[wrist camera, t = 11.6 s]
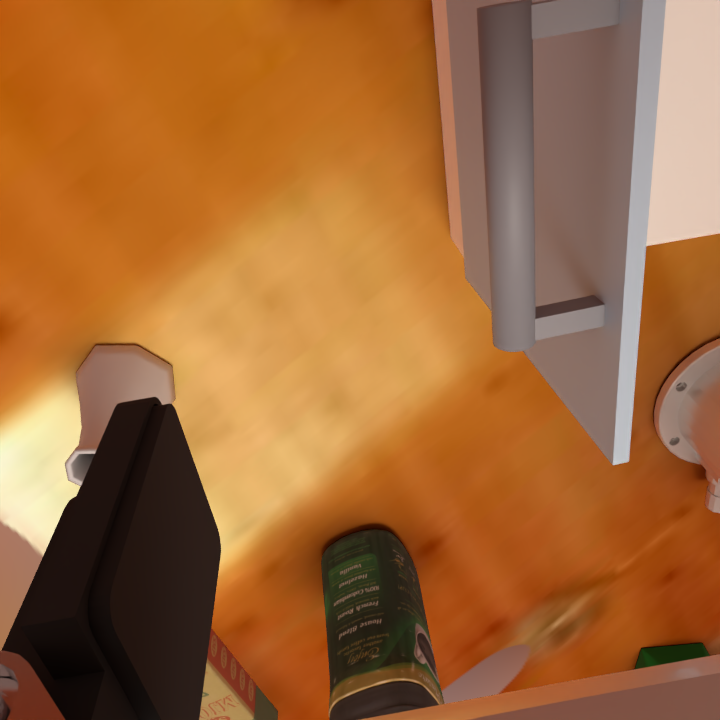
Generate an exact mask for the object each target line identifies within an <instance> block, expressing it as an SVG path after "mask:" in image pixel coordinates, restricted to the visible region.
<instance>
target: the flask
mask: <svg viewBox="0 0 720 720" xmlns="http://www.w3.org/2000/svg"><path fill="white" fill-rule="evenodd" d="M76 380H77V387H78V394H79V401H80V412H81V423H82V429H81V435H80V441H79V446H78V447H77V448H76V449H75V450H74V451H73V453H72V454H71V455H70V457H69V458H68V459H67V461H66V462H65V467H66V472H67V476H68V480H69V481H71V482H73V483H75V484H77V485H79V486H81V485H82V482H83V480H84V478H85V476H86V473H87V471H88V469H89V466H90V464H91V462H92V459H93V457H94V455H95V452H96V450H97V448H98V445H99V443H100V441H101V438H102V436H103V434H104V431H105V429H106V427H107V425H108V422H109V420H110V418H111V415H112V413H113V411H114V408H115V406H116V405H117V404H118V403H121V402H127V401H133V400H138V399H144V398H150V397H157V398H158V399H159V400H160V402H161V403H162V405H164V404H172V403H173V401H174V400H175V389H174V379H173V370H172V366H171V365H169V364H168V363H166V362H164V361H163V360H161V359H159V358H158V357H156V356H154V355H152V354H151V353H149V352H147V351H146V350H144V349H142V348H141V347H139V346H137V345H96V346H95V347H94V349H93V350H92V351H91V353H90V354H89V355H88V357H87V358H86V360H85V361H84V362H83V364H82V365H81V367H80V368H79V369H78V371H77V372H76Z"/></svg>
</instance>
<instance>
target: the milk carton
mask: <svg viewBox="0 0 720 720" xmlns="http://www.w3.org/2000/svg"><path fill="white" fill-rule="evenodd" d="M707 656H710V655H709V653H708V652H707V650H706V648H705V647H704V645H703V643H696V644H685V645H674V646H663V647H652V648H641V651H640V654H639V657H638V661H637V664H636V667H635V669H640V668H646V667H651V666H657V665H662V664H668V663H674V662H679V661H685V660H690V659H696V658H702V657H707Z"/></svg>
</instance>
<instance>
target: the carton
mask: <svg viewBox="0 0 720 720" xmlns="http://www.w3.org/2000/svg"><path fill="white" fill-rule="evenodd" d="M199 720H278V711H277V710H276V709H275V707H274V706H273V705H272V704H271V702H270V701H269V700H268V699H267V698H266V696H265V695H264V694H263V693H262V691H261V690H260V689H259V688H258V686H257V685H256V684H255V682H254V681H253V680H252V679H251V678H250V676H249V675H248V674H247V672H246V671H245V670H244V669H243V667H242V666H241V665H240V664H239V662H238V661H237V660H236V659H235V657H234V656H233V655H232V654H231V652H230V651H229V650H228V649H227V647H226V646H225V645H224V644H223V642H222V641H221V640H220V639H219V638H218V636H217V635H216V634H215V632H214V631H213V630H212V629H211V632H210V640H209V648H208V656H207V663H206V671H205V679H204V687H203V694H202V702H201V710H200V718H199Z"/></svg>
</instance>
